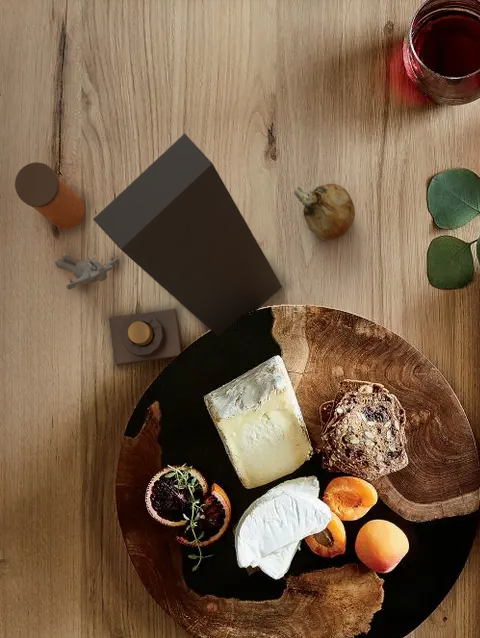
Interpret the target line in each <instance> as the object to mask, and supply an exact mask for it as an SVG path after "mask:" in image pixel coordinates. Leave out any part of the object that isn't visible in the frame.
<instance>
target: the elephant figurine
mask: <svg viewBox="0 0 480 638" xmlns="http://www.w3.org/2000/svg"><path fill="white" fill-rule="evenodd" d="M96 256H97V254H95V255H94V256H93V257H88V258H87V259H81V260H80V259H77V258H75V257H74V256H71V255H70V254H68V253H63V255H62V259H63V260H62V259H61V258H60V257H56V258H55V259H54V264H55V266H56V268H58V269H61V270H66V271H68V272H70V273H72V274H74V277H75V278H76V279H73V280H72V279H71V278H70V277H69V278H68V281H69V283H67V284H65V286H66V289H67V290H68V291H70V290H71V289H75V288H76V287H77V285H79V284H82V287H84V286H85V285H86V283H88V284H93V283H95V282H96V281H97V282H104V281H106V280H107V278H108V272H109V271H111V270H113V268H115V267H116V266H118V264H119V263H120V259H119V258H118V257H117V258H115V259H114V256H113V255H111V257H110V260H109V262H107V263H105V264H101V262H100V261H98V259H96Z"/></svg>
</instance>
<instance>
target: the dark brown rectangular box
mask: <svg viewBox="0 0 480 638" xmlns="http://www.w3.org/2000/svg"><path fill="white" fill-rule="evenodd" d="M92 220H93V221H94V223H96V225H97V226H98V227H99V228H100V229H101V230H102V231H103V232H104V233H105V234H106V235H107V237H109V239H110V240H111V241H112V242H113V243H114V244H115V245H116V246H117V247H118V249H119V250H120V251H122V252H123V253H124V254H125V255H126V256H127V257H128V258H129V259H131V261H133V262H134V263H135V264H136V265H137V266H138V267H140V268H141V269H142V270H143V271H144V272H145V273H146V274H147V275H148V276H149V277H151V278H152V280H154V281H155V282H156V283H157V284H159V286H161V288H163V289H164V290H165V291H166V292H168V293H169V295H171V296H172V297H173V298H174V299H175V300H177V302H179V303H180V304H181V305H182V306H183V307H184V308H185V309H186V310H187V311H188V312H190V313H191V314H192V315H193V316H194V317H195V318H196V319H198V320H199V321H200V323H202V324H203V325H204V326H205V327H206V328H207V329H209V330H210V331H211V332H212V333H213V334H215V336H217V337H218V338H219V336H220V335H221V334H222V333H223V332H224V331H225V330H226V329H227V328H228V327H229V326H231V325H232V323H233V322H235V321H236V320H237V318H239V317H240V316H242V315H245V314H247V313H249V312H252V311H256V310H257V311H258V310H260V308H261V307H263V306H264V304H265V303H266V302H268V301H269V300H270V299H271V298H272V297H273V296H274V295H275V294H276V293H277V292H278V291H280V290H281V289H282V288H283V285H282V283H281V281H280V279H279V278H278V276H277V275H276V273H275V271H274V269H273V268H272V265H271V263H270V262H269V260H268V258H267V257H266V255H265V253H264V252H263V249H262V248H261V246H260V245H259V242H258V241H257V239H256V238H255V236H254V234H253V232H252V230H251V228H250V226H249V225H248V223H247V222H246V220H245V218H244V216H243V215H242V213H241V211H240V209H239V207H238V205H237V204H236V202H235V200H234V198H233V197H232V195H231V193H230V191H229V189H228V188H227V186H226V184H225V182H224V181H223V179H222V178H221V175H220V173H218V170H217V169H216V167H215V165H214V164H213V162H212V161H211V160H210V159H209V157H207V156H206V155H205V154H204V152H203V151H202V150H201V149H200V148H199V147H198V146H197V145H196V143H194V141H193V140H192V139H191V138H190V137H189V136H188V135H187V134H186V133H183V134H181V136H180V137H179V138H178V139H177V140H175V141H174V143H173V144H171V145H170V146H169V147H168V148H167V149H166V150H165V151H164V152H163V153H162V154H160V156H159V157H157V158H156V159H155V160H154V161H153V162H152V163H151V164H150V165H149V166H148V167H147V168H145V170H144V171H143V172H141V174H139V175H138V176H137V177H136V178H135V179H133V181H132V182H131V183H130V184H129V185H127V187H126V188H125V189H124V190H122V192H120V193H119V194H118V195H117V196H116V197H115V198H114V199H113V200H112V201H111V202H109V204H108V205H106V206H105V207H104V208H103V209H102V210H101V211H100V212H98V214H97V215H96V216H95V217H94V218H93V219H92ZM257 311H256V312H257Z"/></svg>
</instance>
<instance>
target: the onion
mask: <svg viewBox="0 0 480 638" xmlns="http://www.w3.org/2000/svg"><path fill="white" fill-rule="evenodd" d="M293 193H294V194H293V195H295V197H296V198H297V199H298V201H299V202H300V203H301V204H302V206H303V211H302V212H303V217H304V220H305V222H306V224H307V227H308V229H309V230H310V232H311V233H312V234H313V235H314V236H316V237H317V238H319V239H321V240H323V241H328V242H329V241H331V242H332V241H333V242H334V241H336V240H339V239H341V238H343V237H344V236H345V235H346V234H348V232H349V231H350V229H351V228H352V226H353V224H354V222H355V219H356V218H355V217H356V209H355V204H354V202H353V199H352V197H351V195H350V193H349V192H348V190H347V189H346V188H344V187H343V186H341V185H338V184H336V183H327V184H323V185H318V186H316V187H315V189H313V190H312V191H311V190H310V191H309V193H308V192H306V191H305V190H304V189H303V188H302V187H300V186H298V187H297V188H295V189H294V191H293Z"/></svg>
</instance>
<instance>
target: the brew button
mask: <svg viewBox="0 0 480 638" xmlns="http://www.w3.org/2000/svg"><path fill="white" fill-rule="evenodd" d="M128 336H129V338H130V340H131V341H133V342H134V343H136V344H138V345H146V344H148V343H149V342H150V341H151V340H152V338H153V331H152V329H151V328H150V327H149V326H148V325H147V324H145V323H144V322H140V321H137V322H134V323H133V324H131V325H130V327H129V329H128Z"/></svg>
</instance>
